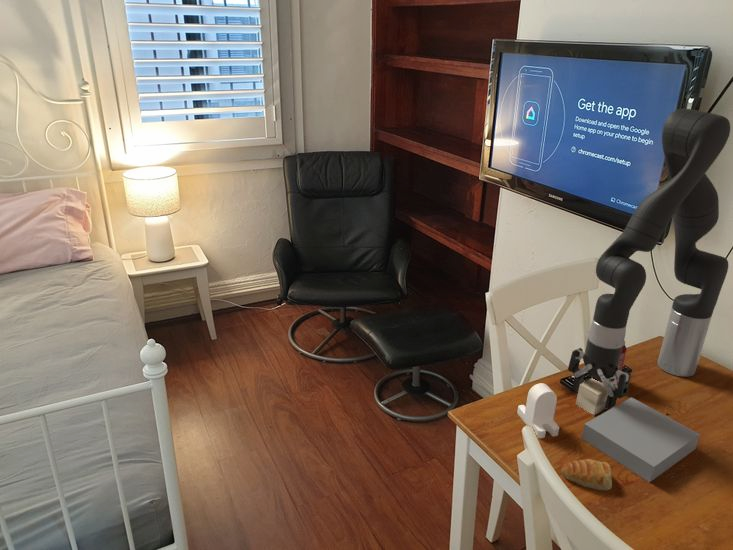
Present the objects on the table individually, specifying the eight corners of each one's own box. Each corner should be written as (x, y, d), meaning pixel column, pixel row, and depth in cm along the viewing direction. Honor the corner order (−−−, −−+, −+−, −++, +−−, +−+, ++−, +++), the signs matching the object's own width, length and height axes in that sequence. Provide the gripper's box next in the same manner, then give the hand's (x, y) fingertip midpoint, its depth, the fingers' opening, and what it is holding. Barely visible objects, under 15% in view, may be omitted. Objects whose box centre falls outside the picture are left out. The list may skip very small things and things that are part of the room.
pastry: (563, 486, 112) (566, 471, 110) (558, 463, 118) (561, 448, 117) (612, 493, 110) (616, 478, 109) (606, 470, 117) (609, 455, 115)
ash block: (588, 398, 139) (592, 378, 137) (606, 408, 136) (611, 388, 133) (575, 405, 137) (579, 384, 134) (593, 416, 133) (598, 394, 131)
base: (627, 411, 135) (631, 397, 133) (695, 449, 123) (700, 434, 121) (581, 438, 125) (584, 423, 124) (649, 482, 113) (653, 466, 112)
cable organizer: (537, 439, 125) (544, 401, 121) (516, 412, 134) (521, 376, 130) (559, 435, 126) (566, 398, 122) (536, 409, 135) (542, 373, 131)
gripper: (644, 348, 125) (629, 408, 132) (588, 322, 136) (576, 379, 142) (624, 357, 121) (610, 419, 128) (569, 330, 132) (558, 389, 138)
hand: (592, 398), depth 135 cm, fingers open, 8 cm apart
